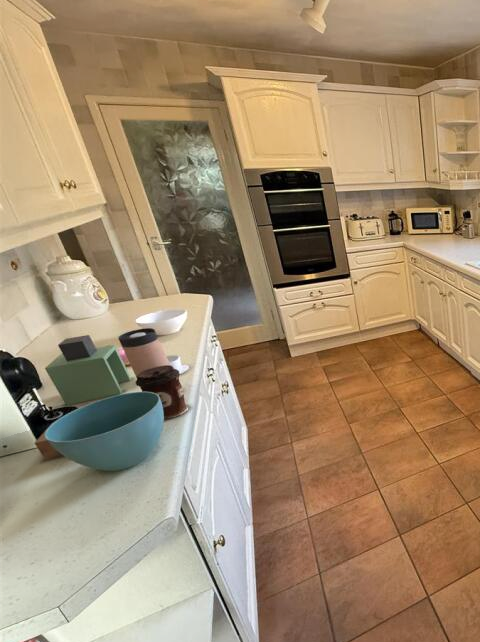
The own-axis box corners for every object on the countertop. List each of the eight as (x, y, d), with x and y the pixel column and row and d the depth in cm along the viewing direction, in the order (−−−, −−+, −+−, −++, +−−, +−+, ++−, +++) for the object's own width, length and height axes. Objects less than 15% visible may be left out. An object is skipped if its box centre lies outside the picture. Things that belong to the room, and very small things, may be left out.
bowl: (154, 327, 165) (147, 311, 162) (198, 322, 169) (193, 306, 166) (133, 342, 151) (126, 325, 148) (182, 336, 155) (176, 320, 152)
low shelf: (45, 460, 90) (34, 443, 88) (62, 438, 97) (52, 422, 95) (114, 443, 95) (104, 426, 93) (125, 423, 102) (117, 407, 100)
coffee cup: (175, 422, 102) (155, 379, 97) (144, 423, 102) (122, 379, 97) (200, 403, 110) (183, 362, 105) (171, 404, 110) (153, 363, 105)
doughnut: (150, 362, 134) (145, 351, 133) (108, 370, 130) (102, 359, 128) (159, 350, 143) (154, 340, 142) (120, 357, 139) (115, 346, 137)
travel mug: (141, 401, 112) (110, 337, 104) (169, 387, 119) (142, 326, 110) (160, 405, 110) (130, 340, 102) (187, 391, 116) (161, 329, 108)
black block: (66, 361, 110) (57, 345, 108) (74, 354, 114) (65, 338, 112) (90, 356, 112) (82, 340, 110) (97, 350, 116) (89, 334, 114)
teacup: (181, 363, 133) (176, 350, 131) (195, 370, 129) (190, 357, 127) (144, 376, 126) (138, 363, 124) (158, 384, 121) (152, 370, 119)
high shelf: (66, 405, 111) (44, 368, 106) (80, 389, 119) (60, 353, 114) (121, 393, 116) (103, 357, 111) (131, 378, 124) (114, 344, 119)
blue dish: (91, 500, 78) (61, 452, 74) (60, 470, 87) (31, 424, 82) (194, 447, 93) (174, 403, 88) (158, 425, 101) (139, 384, 96)
